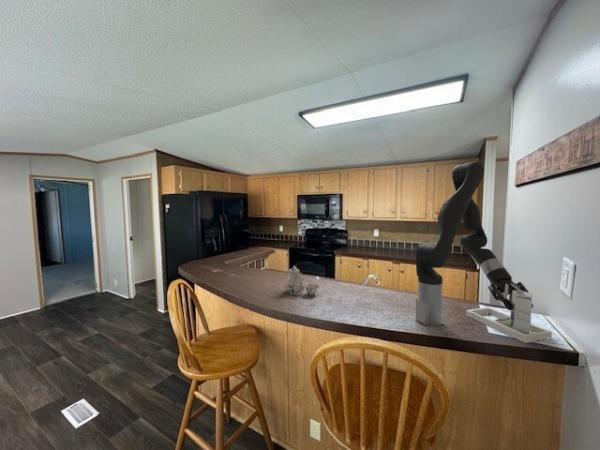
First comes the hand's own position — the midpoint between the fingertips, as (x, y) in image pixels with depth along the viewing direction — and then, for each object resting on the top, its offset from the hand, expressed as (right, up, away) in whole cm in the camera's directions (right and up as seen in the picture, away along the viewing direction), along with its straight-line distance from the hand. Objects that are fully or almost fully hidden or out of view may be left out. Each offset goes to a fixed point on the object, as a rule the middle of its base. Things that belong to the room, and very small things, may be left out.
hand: (521, 308), depth 97 cm
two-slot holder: (-1, -9, +7) cm, 11 cm away
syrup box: (0, -8, +1) cm, 8 cm away
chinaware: (-85, -8, +54) cm, 101 cm away
